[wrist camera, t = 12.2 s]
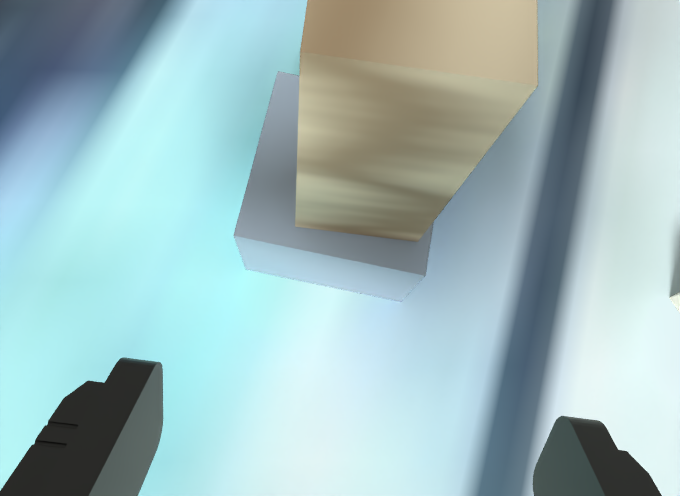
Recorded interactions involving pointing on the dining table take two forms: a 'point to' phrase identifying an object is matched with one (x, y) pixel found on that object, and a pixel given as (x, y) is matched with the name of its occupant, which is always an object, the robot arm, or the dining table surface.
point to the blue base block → (312, 244)
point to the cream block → (676, 300)
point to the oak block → (404, 106)
